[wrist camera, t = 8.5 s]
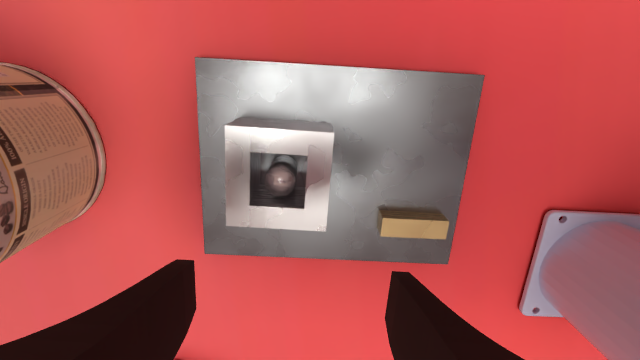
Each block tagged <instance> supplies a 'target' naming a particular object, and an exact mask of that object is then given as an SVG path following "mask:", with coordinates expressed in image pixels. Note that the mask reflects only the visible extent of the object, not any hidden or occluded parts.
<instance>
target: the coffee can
mask: <svg viewBox="0 0 640 360" xmlns="http://www.w3.org/2000/svg"><path fill="white" fill-rule="evenodd" d="M105 172H106V159H105V152H104V147H103V143H102V140H101V137H100V135H99V133H98V131H97V128H96V126H95V124H94V122H93V120H92V119H91V118H90V116H89V115H88V113H87V112H86V110H85V109H84V107H83V106H82V105H81V104H80V103H79V102H78V101H77V99H76V98H75V97H74V96H73V95H72V94H71V93H69V92H68V91H67V90H66V89H65V88H64V87H63V86H61V85H60V84H58V83H57V82H55V81H54V80H52V79H51V78H49V77H47V76H45V75H43V74H42V73H40V72H38V71H35V70H32V69H29V68H26V67H23V66H20V65H15V64H10V63H1V62H0V263H1V262H2V261H4V260H6V259H7V258H9V257H10V256H12V255H14V254H15V253H17V252H19V251H20V250H22V249H24V248H25V247H27V246H29V245H30V244H32V243H34V242H35V241H37V240H39V239H40V238H42V237H44V236H45V235H47V234H49V233H50V232H52V231H54V230H55V229H57V228H59V227H60V226H62V225H64V224H66V223H68V222H70V221H72V220H74V219H76V218H78V217H79V216H81V215H82V214H83V213H85V212H86V211H87V210H88V209H89V208H90V207H91V206H92V204H93V203H94V202H95V200H96V199H97V197H98V195H99V194H100V192H101V189H102V188H103V184H104V179H105Z"/></svg>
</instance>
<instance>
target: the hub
mask: <svg viewBox="0 0 640 360" xmlns="http://www.w3.org/2000/svg"><path fill="white" fill-rule="evenodd" d="M333 143H334V131H333V128H332V125H331V123H322V122H308V121H294V120H279V119H265V118H251V117H239V118H237V119H235V120H234V121H232V122H230V123H228V124H226V125H225V187H226V226H238V227H255V228H272V229H289V230H306V231H324V232H326V226H327V214H328V202H329V190H330V178H331V166H332V154H333ZM261 153H274V154H290V155H305V156H308V159H307V176H306V187H294V189H293V190H292V192H291V193H289V194H288V195H286V196H275V195H273V194H271V193H270V192H269V191H268V190H267V189H266V187H265V185H261V184H260V168H261Z"/></svg>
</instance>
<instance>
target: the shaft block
mask: <svg viewBox="0 0 640 360" xmlns="http://www.w3.org/2000/svg"><path fill="white" fill-rule="evenodd" d="M195 67H196V87H197V108H198V128H199V148H200V169H201V189H202V209H203V230H204V250H205V254H224V255H247V256H270V257H293V258H316V259H339V260H362V261H385V262H407V263H430V264H448V261H449V256H450V251H451V246H452V241H453V235H454V230H455V225H456V220H457V215H458V210H459V204H460V199H461V194H462V189H463V184H464V179H465V174H466V168H467V163H468V158H469V153H470V148H471V143H472V137H473V132H474V127H475V122H476V117H477V112H478V107H479V101H480V96H481V91H482V86H483V81H484V76H485V75H474V74H458V73H442V72H426V71H410V70H393V69H377V68H361V67H345V66H329V65H313V64H296V63H280V62H264V61H248V60H232V59H215V58H199V57H195ZM239 117H251V118H265V119H279V120H294V121H308V122H322V123H331V125H332V128H333V131H334V143H333V154H332V166H331V178H330V190H329V202H328V214H327V226H326V232H324V231H306V230H289V229H272V228H255V227H238V226H226V187H225V125H226V124H228V123H230V122H232V121H234V120H235V119H237V118H239ZM307 159H308V156H305V155H290V154H274V153H261V168H260V184H261V185H265V187H266V189H267V190H268V191H269V192H270V193H271V194H273V195H275V196H286V195H288V194H289V193H291V192H292V190H293V189H294V187H306V176H307Z"/></svg>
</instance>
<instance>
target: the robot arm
mask: <svg viewBox="0 0 640 360" xmlns="http://www.w3.org/2000/svg"><path fill="white" fill-rule="evenodd" d="M561 216H563V218H562V219H561V220H559V218H560V217H561ZM534 308H535V309H534ZM533 309H534V310H533ZM195 310H196V293H195V271H194V260H178V259H177V260H175V261H173V262H171V263H169V264H168V265H166V266H164V267H163V268H161V269H160V270H158V271H156V272H155V273H153V274H151V275H150V276H148V277H147V278H145V279H143V280H142V281H140V282H138V283H137V284H135V285H133V286H132V287H130V288H128V289H126V290H125V291H123V292H121V293H119V294H117V295H116V296H114V297H112V298H110V299H108V300H107V301H105V302H103V303H101V304H99V305H97V306H95V307H93V308H91V309H89V310H87V311H85V312H83V313H81V314H79V315H77V316H74V317H72V318H70V319H68V320H66V321H63V322H61V323H59V324H56V325H54V326H51V327H48V328H46V329H43V330H41V331H38V332H36V333H33V334H31V335H28V336H26V337H23V338H20V339H18V340H15V341H12V342H9V343H6V344H3V345H0V360H173V359H174V357H175V356H176V354H177V352H178V350H179V348H180V346H181V344H182V342H183V340H184V338H185V336H186V334H187V332H188V329H189V327H190V324H191V322H192V319H193V316H194V313H195ZM519 310H520V311H521V313H522V314H524V315H526V316H547V317H564V318H566V319H567V320H568V321H569V322H570V323H571V324H572V325H573V326H574V327H575V328H576V329H577V330H578V331H579V332H580V333H581V334H582V335H583V336H584V337H585V338H586V339H587V340H588V341H589V342H590V343H591V344H592V345H593V346H595V347H596V348H597V349H598V350H599V351H600V352H601V353H602V354H603V355H604V356H605V357H606V358H607V359H608V360H640V214H626V213H606V212H586V211H565V210H550V211H548V212H547V213H546V214H545V216H544V219H543V223H542V227H541V230H540V234H539V237H538V241H537V245H536V248H535V252H534V255H533V259H532V263H531V266H530V270H529V274H528V277H527V281H526V284H525V288H524V292H523V295H522V299H521V302H520V306H519ZM385 321H386V327H387V333H388V338H389V344H390V347H391V351H392V354H393V357H394V360H524V359H523V358H521V357H519V356H517V355H516V354H514V353H512V352H510V351H509V350H507V349H505V348H504V347H502V346H501V345H499V344H497V343H496V342H494V341H493V340H491V339H490V338H488V337H487V336H485V335H484V334H482V333H481V332H479V331H478V330H477V329H475V328H474V327H473V326H471V325H470V324H469V323H467V322H466V321H465V320H463V319H462V318H461V317H460V316H458V315H457V314H456V313H455V312H453V311H452V310H451V309H450V308H448V307H447V306H446V305H445V304H444V303H443V302H441V301H440V300H439V299H438V298H437V297H436V296H435V295H434V294H432V293H431V292H430V291H429V290H428V289H427V288H426V287H425V286H424V285H423V284H421V283H420V282H419V281H418V280H417V279H416V278H415V277H414V276H413V275H411V274H410V273H409V272H395V271H392V275H391V282H390V288H389V295H388V301H387V308H386V315H385Z"/></svg>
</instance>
